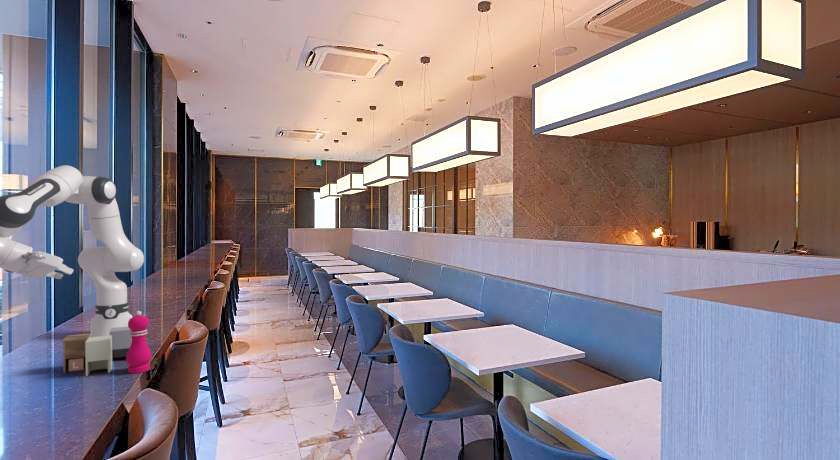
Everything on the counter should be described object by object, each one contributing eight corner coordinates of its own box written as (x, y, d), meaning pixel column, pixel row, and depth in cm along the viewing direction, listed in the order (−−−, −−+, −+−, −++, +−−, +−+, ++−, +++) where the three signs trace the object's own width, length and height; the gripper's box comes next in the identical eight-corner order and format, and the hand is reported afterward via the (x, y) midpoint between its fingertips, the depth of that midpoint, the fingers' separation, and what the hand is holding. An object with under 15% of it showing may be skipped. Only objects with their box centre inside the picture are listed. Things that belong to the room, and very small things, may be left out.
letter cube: (71, 368, 153) (71, 356, 153) (85, 366, 155) (85, 355, 155) (68, 371, 150) (68, 359, 150) (83, 370, 152) (83, 358, 152)
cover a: (67, 367, 154) (67, 335, 154) (90, 364, 157) (90, 333, 157) (63, 373, 148) (62, 339, 148) (87, 370, 151) (86, 337, 151)
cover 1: (89, 370, 151) (88, 337, 151) (112, 367, 154) (111, 335, 154) (85, 376, 145) (85, 342, 145) (109, 372, 148) (109, 339, 148)
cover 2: (112, 357, 165) (111, 327, 165) (132, 355, 168) (132, 326, 168) (109, 362, 159) (109, 331, 159) (131, 360, 162) (130, 329, 162)
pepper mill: (133, 367, 154) (133, 309, 154) (155, 366, 155) (155, 308, 154) (121, 374, 147) (120, 313, 146) (144, 373, 147) (144, 312, 147)
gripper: (34, 242, 139) (83, 260, 148) (14, 255, 150) (61, 271, 159) (23, 260, 136) (73, 278, 145) (3, 272, 147) (52, 287, 156)
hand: (67, 274), depth 152 cm, fingers open, 8 cm apart
